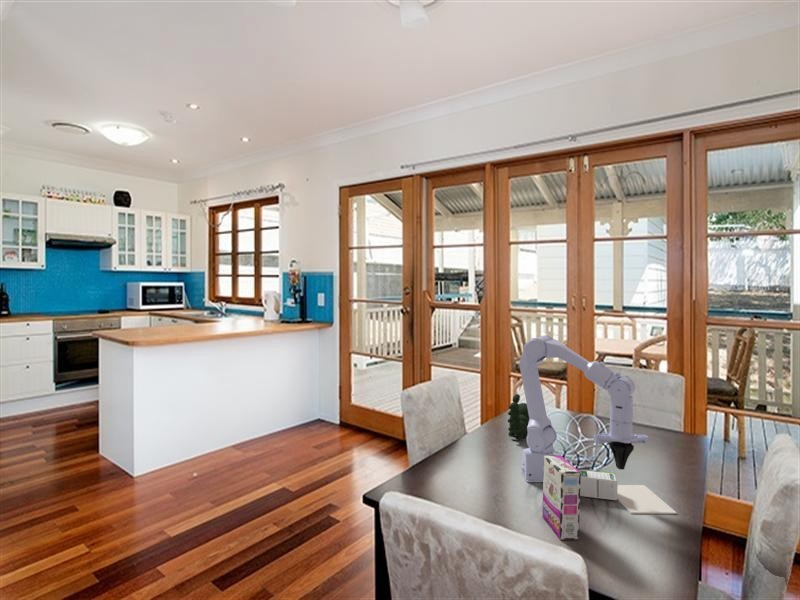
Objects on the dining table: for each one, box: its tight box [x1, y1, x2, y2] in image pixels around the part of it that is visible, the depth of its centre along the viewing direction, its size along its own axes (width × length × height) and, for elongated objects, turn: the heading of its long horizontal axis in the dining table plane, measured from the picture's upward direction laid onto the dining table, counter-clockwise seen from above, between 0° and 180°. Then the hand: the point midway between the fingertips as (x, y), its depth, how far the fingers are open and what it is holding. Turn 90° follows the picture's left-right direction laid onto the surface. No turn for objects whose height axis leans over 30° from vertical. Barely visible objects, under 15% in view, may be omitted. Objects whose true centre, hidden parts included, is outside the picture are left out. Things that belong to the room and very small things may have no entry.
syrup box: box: [576, 468, 618, 501], centre depth 130 cm, size 6×6×14 cm
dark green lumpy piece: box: [507, 393, 530, 439], centre depth 181 cm, size 9×19×25 cm
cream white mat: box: [616, 484, 678, 515], centre depth 127 cm, size 12×16×1 cm
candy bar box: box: [542, 454, 581, 541], centre depth 112 cm, size 11×5×16 cm, turn 5°
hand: (620, 468), depth 127 cm, fingers closed
